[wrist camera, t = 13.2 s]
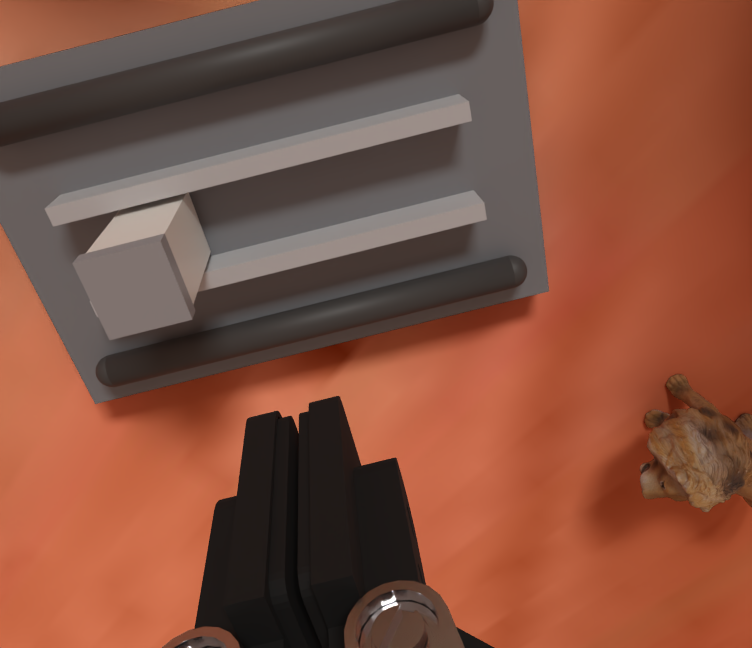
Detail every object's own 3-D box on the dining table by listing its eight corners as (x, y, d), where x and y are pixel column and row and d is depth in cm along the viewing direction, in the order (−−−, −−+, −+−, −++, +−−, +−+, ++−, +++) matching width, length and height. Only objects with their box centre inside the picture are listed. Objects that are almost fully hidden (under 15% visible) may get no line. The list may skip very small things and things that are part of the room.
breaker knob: (189, 187, 29) (160, 241, 23) (213, 253, 31) (192, 319, 25) (119, 205, 29) (72, 263, 23) (147, 270, 31) (109, 340, 25)
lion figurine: (580, 418, 40) (649, 525, 32) (631, 348, 38) (717, 444, 30) (755, 485, 44) (855, 595, 36) (809, 425, 42) (927, 527, 35)
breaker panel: (496, -61, 28) (525, -67, 24) (536, 275, 35) (562, 308, 32) (-49, 78, 28) (-99, 92, 25) (105, 383, 36) (84, 427, 32)
